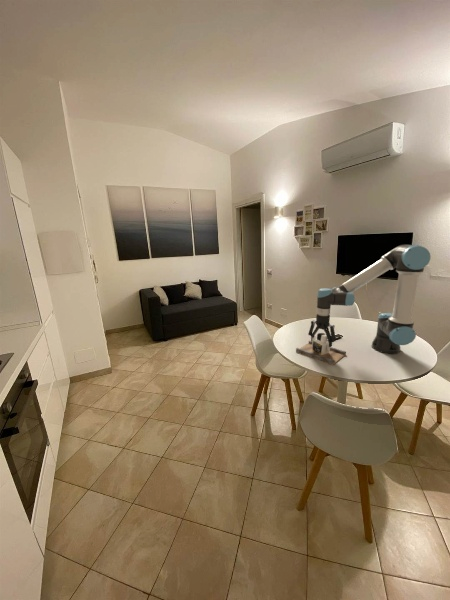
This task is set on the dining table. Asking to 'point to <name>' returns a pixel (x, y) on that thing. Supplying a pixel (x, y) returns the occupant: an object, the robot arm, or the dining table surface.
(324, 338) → the medicine bottle
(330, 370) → the dining table surface
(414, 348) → the dining table surface
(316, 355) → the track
